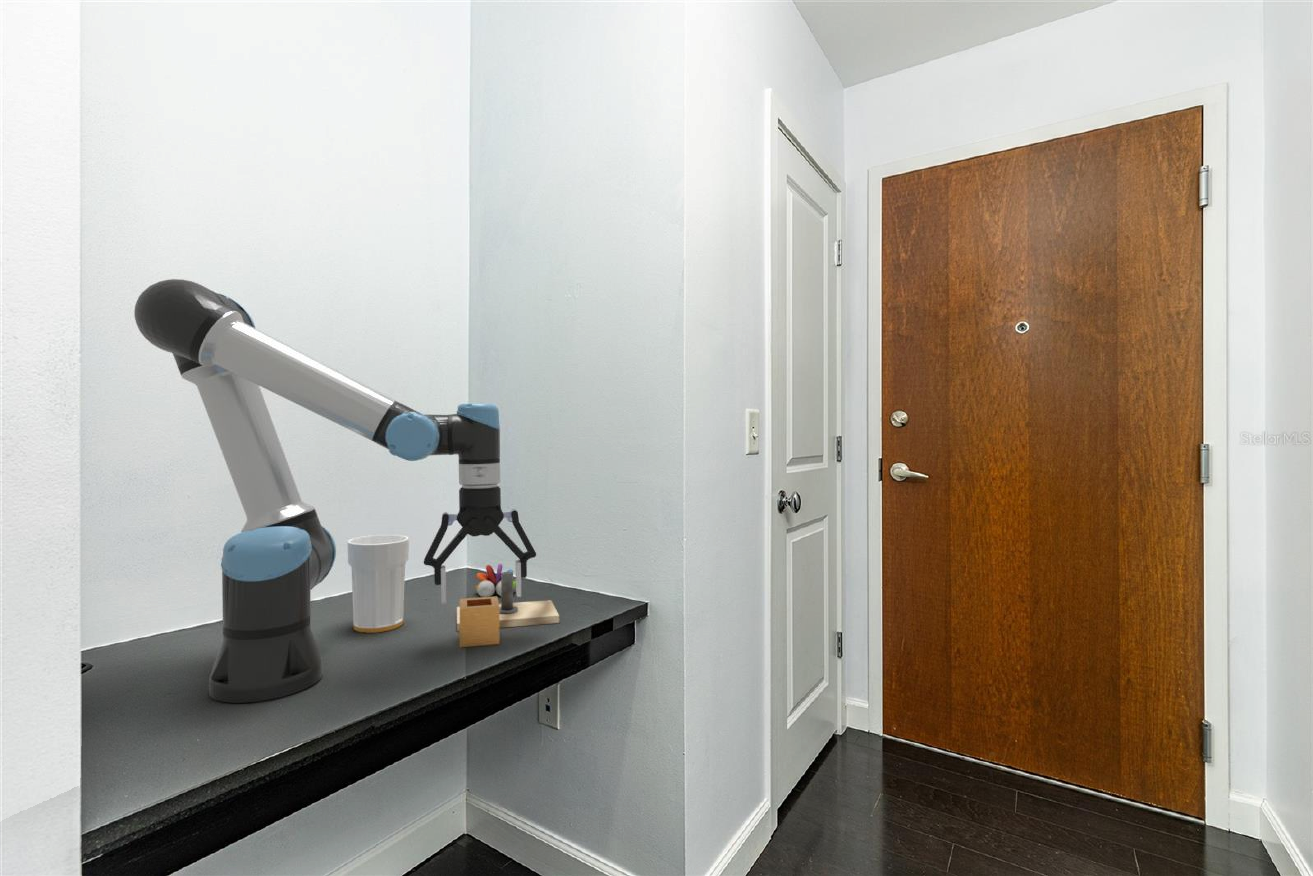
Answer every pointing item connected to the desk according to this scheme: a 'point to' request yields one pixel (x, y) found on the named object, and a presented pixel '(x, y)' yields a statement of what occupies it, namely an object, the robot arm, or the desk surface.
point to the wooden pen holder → (479, 621)
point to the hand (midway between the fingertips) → (481, 598)
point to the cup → (378, 581)
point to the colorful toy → (490, 581)
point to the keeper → (520, 608)
